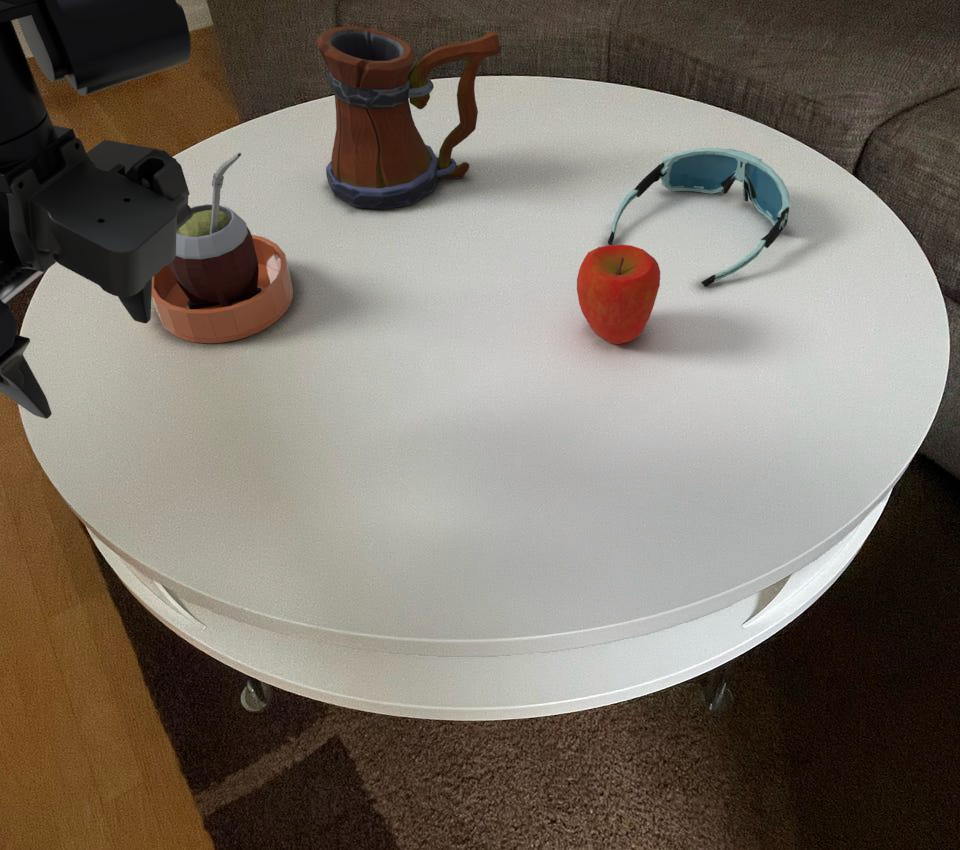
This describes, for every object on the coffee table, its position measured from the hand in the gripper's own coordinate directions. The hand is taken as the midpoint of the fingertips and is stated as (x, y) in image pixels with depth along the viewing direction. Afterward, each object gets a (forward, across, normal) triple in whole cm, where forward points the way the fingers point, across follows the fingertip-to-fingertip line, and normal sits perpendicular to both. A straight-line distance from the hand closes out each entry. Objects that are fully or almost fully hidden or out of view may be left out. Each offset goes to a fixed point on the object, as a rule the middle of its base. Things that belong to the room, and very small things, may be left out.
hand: (95, 365), depth 55 cm
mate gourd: (+12, +20, +7) cm, 25 cm away
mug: (+12, +45, +1) cm, 47 cm away
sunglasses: (+12, +45, -28) cm, 54 cm away
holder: (+12, +21, +8) cm, 25 cm away
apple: (+12, +28, -25) cm, 39 cm away
